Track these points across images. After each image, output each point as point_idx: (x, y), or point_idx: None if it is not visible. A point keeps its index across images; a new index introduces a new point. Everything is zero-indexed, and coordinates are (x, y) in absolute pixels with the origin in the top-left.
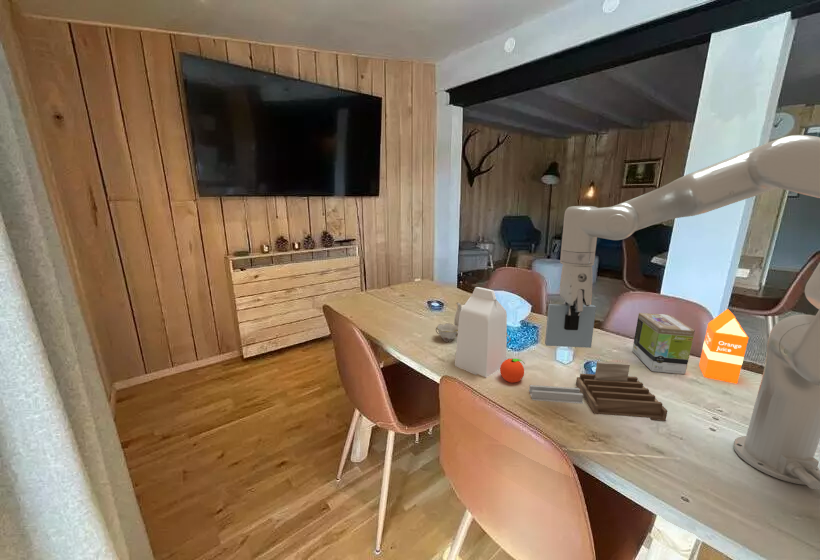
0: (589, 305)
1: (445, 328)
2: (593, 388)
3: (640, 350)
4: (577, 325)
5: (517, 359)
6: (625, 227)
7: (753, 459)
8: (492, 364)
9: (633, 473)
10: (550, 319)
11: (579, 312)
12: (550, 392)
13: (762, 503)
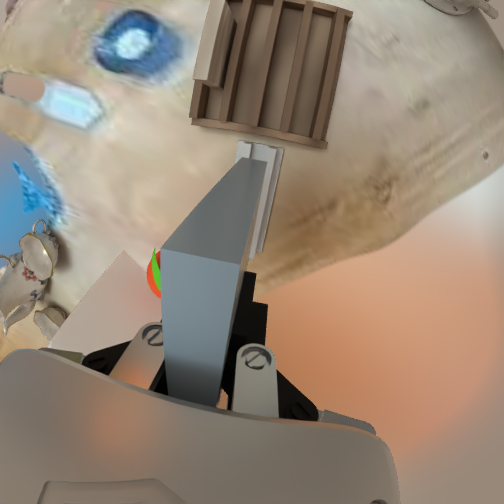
0: (383, 441)
1: (43, 322)
2: (259, 114)
3: None
4: (252, 291)
5: (157, 277)
6: None
7: (448, 6)
8: (154, 303)
9: (450, 185)
10: (220, 397)
11: (306, 397)
12: (259, 222)
13: (494, 73)
